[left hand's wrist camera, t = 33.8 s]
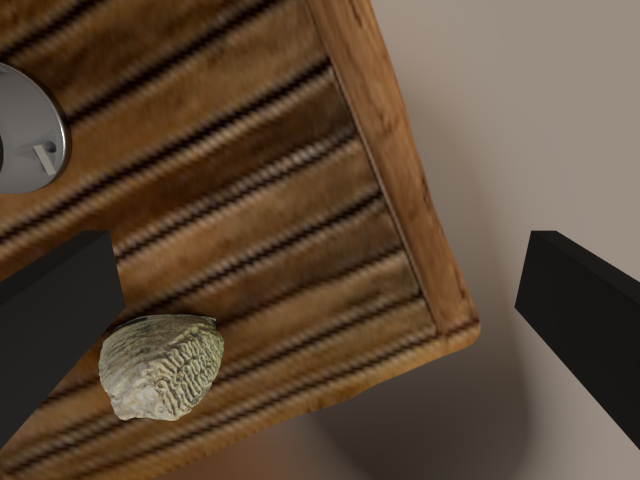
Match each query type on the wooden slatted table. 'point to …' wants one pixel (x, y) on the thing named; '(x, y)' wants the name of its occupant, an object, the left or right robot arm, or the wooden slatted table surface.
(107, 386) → the fossil
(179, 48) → the wooden slatted table surface
